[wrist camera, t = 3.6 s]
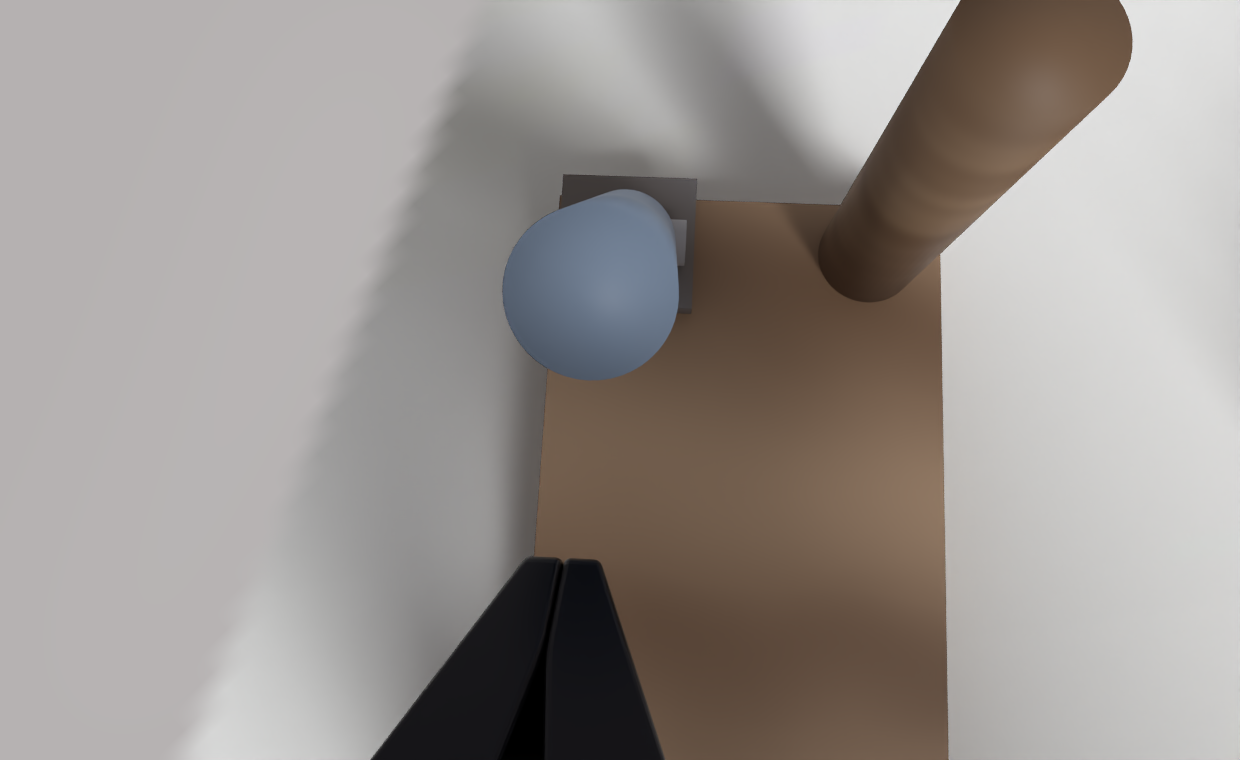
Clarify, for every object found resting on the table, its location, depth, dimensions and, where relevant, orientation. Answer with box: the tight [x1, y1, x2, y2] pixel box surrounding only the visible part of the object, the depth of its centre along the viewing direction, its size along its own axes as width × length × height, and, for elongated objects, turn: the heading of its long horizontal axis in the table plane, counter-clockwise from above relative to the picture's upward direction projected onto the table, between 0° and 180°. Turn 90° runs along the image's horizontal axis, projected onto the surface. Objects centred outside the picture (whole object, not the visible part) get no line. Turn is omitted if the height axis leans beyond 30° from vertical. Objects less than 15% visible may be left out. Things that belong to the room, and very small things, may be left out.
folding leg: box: [503, 189, 687, 381], centre depth 13 cm, size 2×2×8 cm
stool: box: [534, 0, 1132, 760], centre depth 12 cm, size 20×8×10 cm, turn 177°
